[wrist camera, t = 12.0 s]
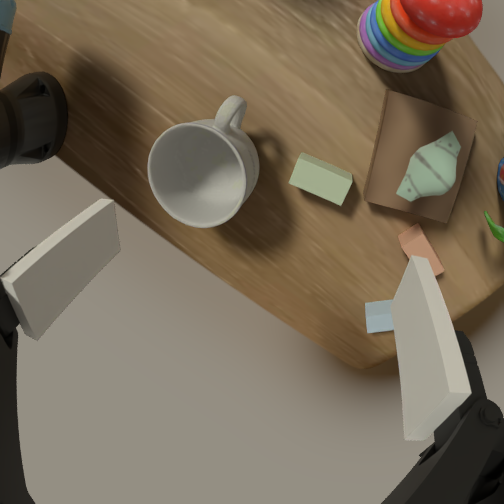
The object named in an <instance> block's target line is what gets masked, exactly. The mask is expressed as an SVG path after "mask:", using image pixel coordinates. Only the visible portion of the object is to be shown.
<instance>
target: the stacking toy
mask: <svg viewBox="0 0 504 504" xmlns="http://www.w3.org/2000/svg"><path fill="white" fill-rule="evenodd" d="M482 10H483V6H482V0H378V1H377V2H375V3H373V4H371V5H370V6H369V7H368V8H367V9H366V10H365V11H364V12H363V13H362V15H361V16H360V18H359V20H358V24H357V39H358V43H359V45H360V48H361V49H362V51H363V53H364V54H365V55H366V56H367V58H368V59H369V60H370V61H371V62H373V63H374V64H375V65H377V66H378V67H380V68H382V69H384V70H387V71H390V72H395V73H408V72H412V71H415V70H417V69H419V68H420V67H422V66H423V65H424V64H425V63H426V62H428V61H429V60H430V59H431V58H432V57H434V56H435V55H436V54H437V53H438V52H439V51H440V49H441V48H442V47H443V46H444V44H445V43H446V42H448V41H450V40H452V39H453V38H459V37H463V36H465V35H468V34H469V33H471V32H472V31H473V30H474V29H475V28H476V27H477V26H478V24H479V22H480V20H481V17H482Z"/></svg>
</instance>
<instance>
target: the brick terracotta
mask: <svg viewBox="0 0 504 504" xmlns="http://www.w3.org/2000/svg"><path fill="white" fill-rule="evenodd" d="M398 238H399V241H400V244H401V247H402V249H403V250H404V252H405V253H406V255H407V256H408V258H409V260H410V257H411V255H414V256H419V257H423V258H428V261H429V263H430V266H431V268H432V271H433V273H434V276H437V275H439V274H440V273H442V272H443V271H445V270H444V268H443V266H442V263H441V261H440V259H439V257H438V255H437V253H436V252H435V250H434V248H433V247H432V245H431V243H430V241H429V240H428V238H427V236H426V235H425V233H424V231H423V230H422V228H421V227H420V225H419V223H417V224H415V225H414V226H412V227H411V228H409V229H408V230H406V231H404V232H403V233H401V234H400V235H398Z"/></svg>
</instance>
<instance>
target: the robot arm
mask: <svg viewBox="0 0 504 504" xmlns="http://www.w3.org/2000/svg"><path fill="white" fill-rule="evenodd" d="M15 12H16V2H15V1H14V0H0V77H1V72H2V66H3V62H4V57H5V53H6V49H7V45H8V41H9V37H10V35H11V34H12V30H11V29H12V24H13V20H14V16H15ZM66 128H67V106H66V101H65V97H64V94H63V91H62V89H61V87H60V85H59V83H58V82H57V80H56V79H55V78H54V77H53V76H52V75H50V74H48V73H46V72H35V73H29V74H26V75H24V76H22V77H20V78H19V79H17V80H15V81H14V82H12V83H11V84H9V85H8V86H6V87H4V88H3V89H1V90H0V169H2V168H3V167H6V166H8V165H12V164H35V163H39V162H42V161H44V160H47V159H49V158H51V157H52V156H54V155H55V154H56V153H57V152H58V150H59V149H60V147H61V145H62V143H63V140H64V137H65V134H66ZM119 252H120V244H119V237H118V230H117V222H116V214H115V206H114V200H110V199H104V198H101V199H99V200H98V201H97V202H95V203H94V204H92V205H91V206H89V207H88V208H87V209H85V210H84V211H82V212H81V213H80V214H78V215H77V216H75V217H74V218H73V219H71V220H70V221H69V222H67V223H66V224H65V225H63V226H62V227H61V228H59V229H58V230H57V231H55V232H54V233H53V234H52V235H51V236H49V237H48V238H47V239H46V240H44V241H43V242H42V243H40V244H39V245H38V246H36V247H34V248H32V249H31V250H29V251H28V252H27V253H26V254H25V255H24V257H23V256H22V257H21V258H20V259H19V260H18V261H17V262H15V263H14V264H13V265H12V266H10V267H9V268H8V269H7V270H6V271H5V272H4V273H2V274H1V275H0V504H35V502H34V501H33V499H32V498H31V496H30V495H29V493H28V491H27V488H26V484H25V478H24V472H23V465H22V458H21V450H20V441H19V430H18V416H17V389H16V388H17V386H16V376H17V374H16V373H17V344H18V332H17V330H16V327H17V326H18V325H19V323H20V325H21V327H22V329H23V331H24V333H25V334H26V335H28V336H29V337H32V338H33V339H35V340H39V338H40V337H41V336H42V335H43V334H44V333H45V331H46V330H47V329H48V328H49V327H50V325H51V324H52V323H53V322H54V321H55V320H56V318H57V317H58V316H59V315H60V314H61V313H62V312H63V311H64V310H65V308H66V307H67V306H68V305H69V304H70V303H71V302H72V301H73V299H75V297H76V296H77V295H78V294H79V293H80V292H81V291H82V290H83V289H84V288H85V286H86V285H87V284H88V283H89V282H90V281H91V280H92V279H93V278H94V277H95V276H96V275H97V274H98V273H99V272H100V271H101V270H102V269H103V267H105V266H106V265H107V264H108V263H109V262H110V261H111V259H112V258H114V256H115V255H116V254H117V253H119ZM390 308H391V314H392V320H393V326H394V333H395V340H396V348H397V355H398V364H399V373H400V383H401V393H402V407H403V423H404V440H425V439H427V438H428V437H429V436H430V435H431V434H432V433H433V432H434V439H435V442H434V443H433V444H432V445H430V446H429V447H428V448H427V449H426V450H425V451H423V452H422V453H421V454H420V455H419V456H420V457H421V458H420V460H419V461H418V462H417V464H416V465H415V466H414V467H413V468H412V470H411V471H410V472H409V473H408V474H407V475H406V477H405V478H404V479H403V480H402V481H401V482H400V484H399V485H398V486H397V487H396V488H395V489H394V490H393V491H392V493H391V494H390V495H389V496H388V497H387V498H386V499H385V500H384V501H383V502H382V503H381V504H504V418H503V414H502V412H501V410H500V408H499V407H498V406H497V405H496V404H495V403H494V402H492V401H490V400H488V399H487V396H486V393H485V389H484V385H483V381H482V378H481V374H480V371H479V367H478V366H477V361H476V358H475V356H474V351H473V348H472V345H471V342H470V341H469V339H468V338H467V337H466V335H465V334H464V332H462V331H456V330H454V328H453V325H452V322H451V319H450V316H449V313H448V310H447V307H446V305H445V302H444V299H443V296H442V294H441V291H440V288H439V286H438V283H437V281H436V278H435V276H434V273H433V271H432V268H431V266H430V263H429V261H428V258H423V257H419V256H414V255H411V257H410V260H409V263H408V265H407V268H406V270H405V273H404V275H403V278H402V280H401V283H400V285H399V287H398V290H397V292H396V294H395V297H394V299H393V301H392V304H391V306H390Z"/></svg>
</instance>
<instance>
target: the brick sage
mask: <svg viewBox="0 0 504 504" xmlns="http://www.w3.org/2000/svg"><path fill="white" fill-rule="evenodd" d="M352 182H353V180H352V174H351V173H349V172H347V171H344V170H342V169H340V168H338V167H336V166H333V165H331V164H329V163H326V162H324V161H322V160H320V159H317V158H315V157H312V156H310V155H308V154H305V153H303V152H301V154H300V156H299V158H298V161H297V163H296V166H295V168H294V171H293V173H292V176H291V178H290V181H289V184H292V185H294V186H296V187H299V188H301V189H304V190H306V191H308V192H311V193H313V194H315V195H317V196H320V197H322V198H324V199H327V200H329V201H331V202H333V203H336V204H338V205H340V206H341V205H342V203H343V201H344V199H345V196H346V194H347V192H348V190H349V188H350V186H351V184H352Z"/></svg>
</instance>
